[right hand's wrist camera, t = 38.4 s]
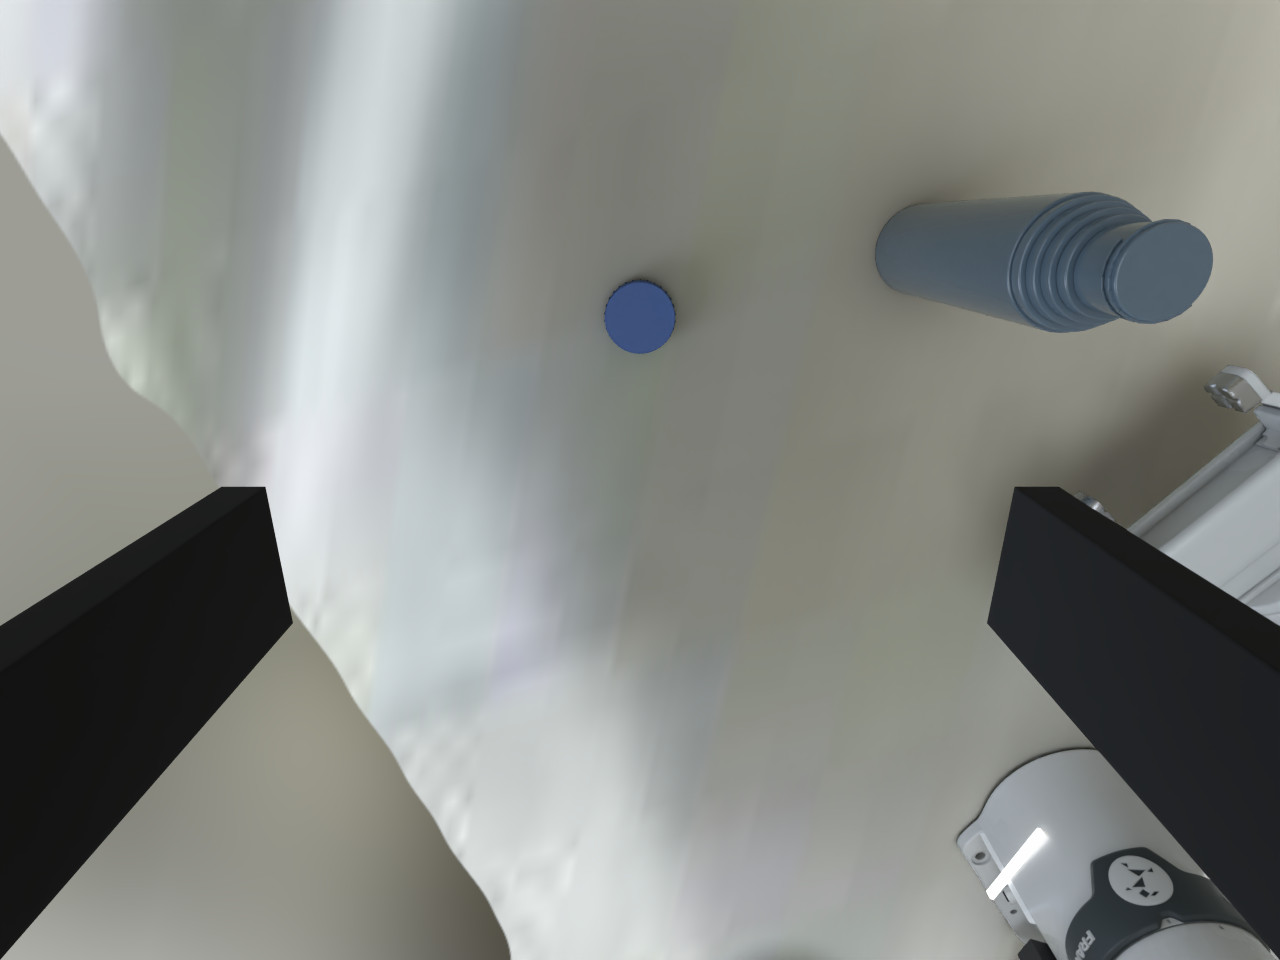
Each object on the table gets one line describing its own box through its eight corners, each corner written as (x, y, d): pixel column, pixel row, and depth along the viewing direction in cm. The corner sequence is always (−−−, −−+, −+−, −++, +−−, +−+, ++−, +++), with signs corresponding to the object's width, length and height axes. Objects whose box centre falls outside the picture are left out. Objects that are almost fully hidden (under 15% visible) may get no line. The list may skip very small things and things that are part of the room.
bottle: (857, 247, 44) (1050, 269, 23) (929, 183, 43) (1200, 146, 22) (908, 312, 46) (1132, 386, 25) (979, 251, 44) (1277, 276, 24)
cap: (677, 346, 46) (678, 350, 45) (609, 353, 46) (608, 357, 45) (671, 276, 45) (673, 277, 43) (601, 283, 45) (600, 285, 43)
